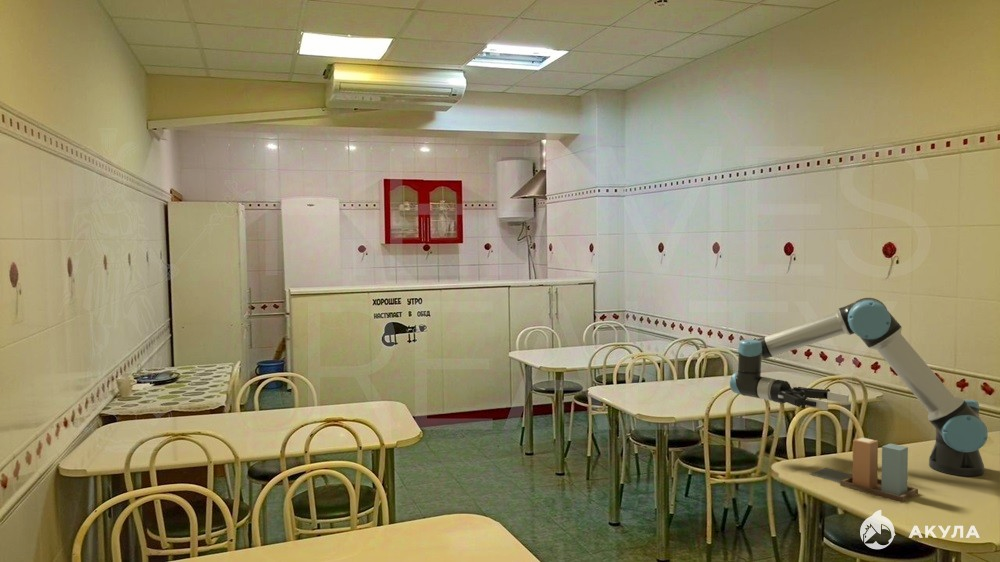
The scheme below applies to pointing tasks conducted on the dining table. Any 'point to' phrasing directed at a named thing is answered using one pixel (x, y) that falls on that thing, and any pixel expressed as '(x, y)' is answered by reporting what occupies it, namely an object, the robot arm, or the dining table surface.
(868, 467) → the rust box
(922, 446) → the dining table surface
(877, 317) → the robot arm
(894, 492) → the slate box
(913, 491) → the tray
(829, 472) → the mat
